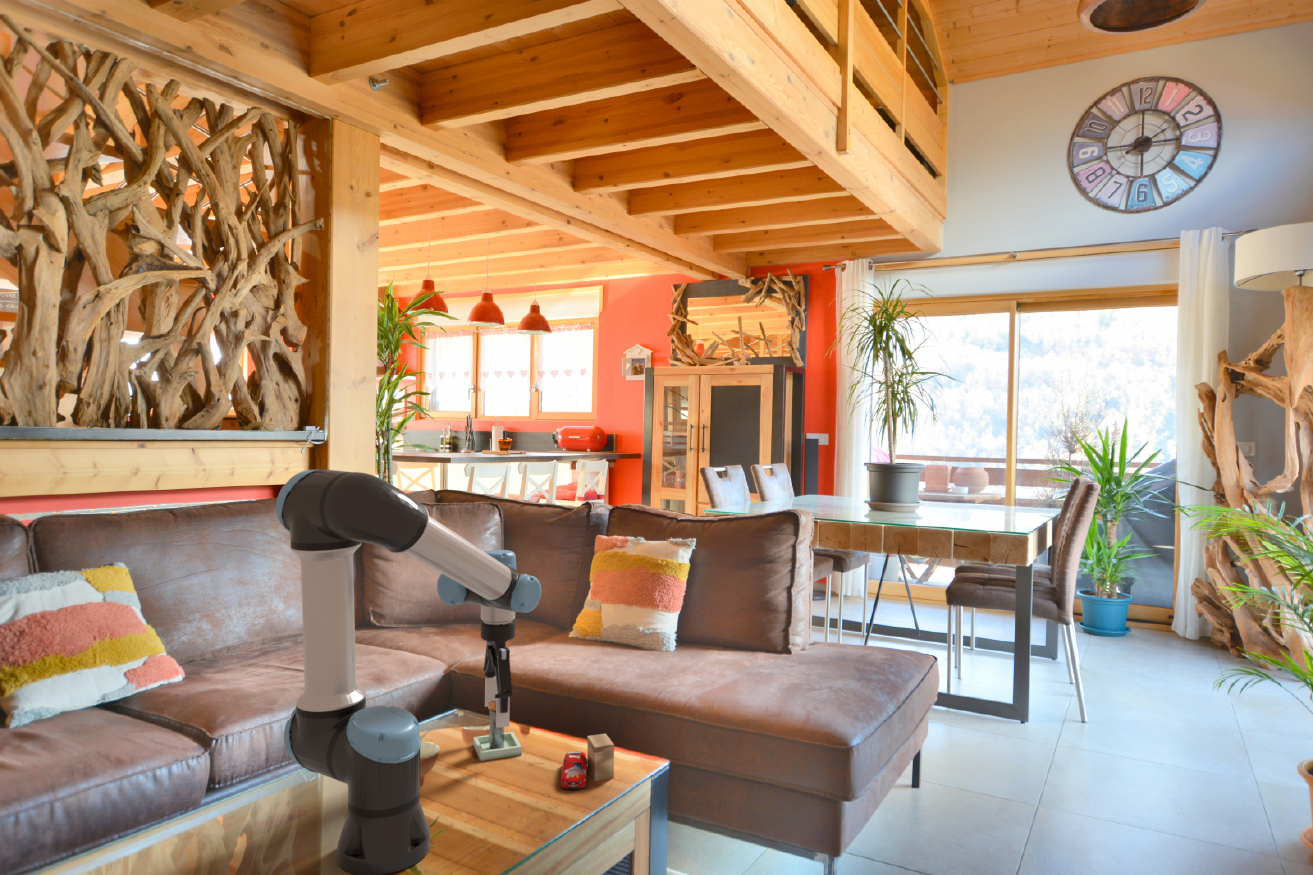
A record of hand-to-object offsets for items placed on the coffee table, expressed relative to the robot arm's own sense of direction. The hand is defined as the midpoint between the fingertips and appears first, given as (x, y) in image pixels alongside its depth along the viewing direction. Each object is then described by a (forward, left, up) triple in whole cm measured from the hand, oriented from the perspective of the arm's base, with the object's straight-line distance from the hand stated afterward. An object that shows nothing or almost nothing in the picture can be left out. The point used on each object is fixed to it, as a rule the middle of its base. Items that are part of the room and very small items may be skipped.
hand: (496, 715), depth 183 cm
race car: (+12, -19, -8) cm, 24 cm away
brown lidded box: (+18, -19, -8) cm, 28 cm away
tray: (0, 0, -7) cm, 8 cm away
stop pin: (0, 0, -7) cm, 7 cm away
